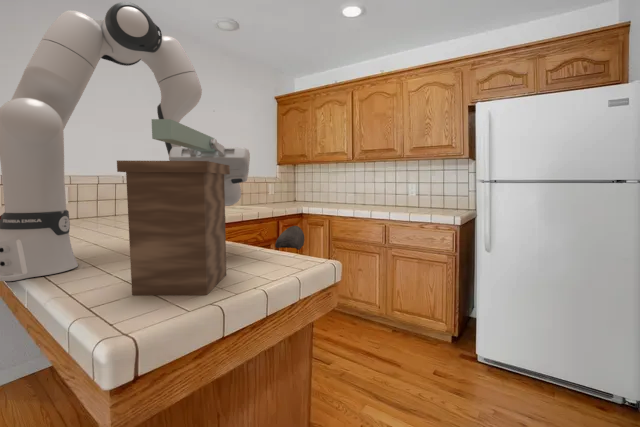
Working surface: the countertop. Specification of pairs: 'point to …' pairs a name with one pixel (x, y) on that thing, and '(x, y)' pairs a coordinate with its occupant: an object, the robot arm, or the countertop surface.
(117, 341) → the countertop surface
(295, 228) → the stone
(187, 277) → the pedestal
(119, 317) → the countertop surface
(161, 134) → the bar
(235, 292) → the countertop surface
